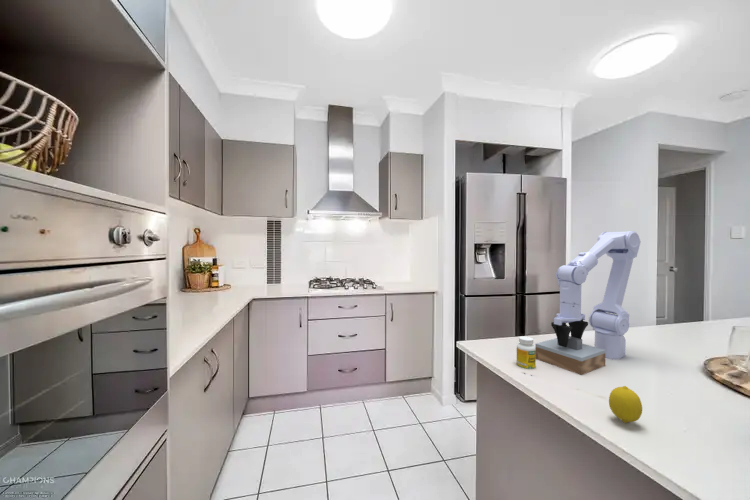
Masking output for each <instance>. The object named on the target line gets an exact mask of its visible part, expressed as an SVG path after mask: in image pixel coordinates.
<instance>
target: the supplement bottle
mask: <svg viewBox="0 0 750 500" xmlns="http://www.w3.org/2000/svg"><path fill="white" fill-rule="evenodd" d="M518 341H519V342H518V343H516V365H517V366H518V367H519V368H522V369H527V370H533V369H534V370H535V369H536V360H537V359H536V348H535V345H534V338H533V337H529V336H525V335H524V336H523V335H522V336H519V337H518Z"/></svg>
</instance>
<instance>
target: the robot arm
mask: <svg viewBox="0 0 750 500" xmlns="http://www.w3.org/2000/svg"><path fill="white" fill-rule="evenodd" d="M640 246H641V239H640V236H639V234H638V233H637V231H635V230H630V231H603V232H601V233H600V234H599V235H598V236H597V242H595V244H593V246H592V247H591V248H590V249H589V250H588V251H584V252H583V251H582V252H581V251H580V252H578V255H576V257H575V258H573V259H572V260H570V261H569V263H568V264H564V265H561V266H559V268H557V271H556V273H555V278H556V280H557V283H558V284H557V285H558V287H559V313H555V316H556V317H554V318H553V322H552V321H551V325H550V326H551V327H552V329H553V331H554V333H555V335H556V338H557V340H558V344H559V346H563V347H567V345H568V338H569V336H571V337H575V338H579V339H582V338H583V334H584V332H585V330H586V329H587V327H588V326H589V325H590V327H591V328H592V330H593V331H594V347H597V348H600V349H604V350H606V353H605V359H608V360H621V359H622V357H625V356H626V343H627V342H626V338H625V336H624V335H625V334H626V333H627V332H628V331H629V328H630V313H628V311H627V310H626V309H625V308H624V307H622V306H623V302H624V297H625V293H626V289H627V286H628V282H629V279H630V275H631V270H632V265H633V262H634V259H635V258H637V257H638V253H639V249H640ZM604 255H606V256H607V257H609V258H611V259H612V264H611V268H610V272H609V275H608V280H607V283H606V287H605V291H604V295H603V299H602V302H600V303H598V304H596V305H594V306H593V307H592V311H591V312H590V313H589V315H588V321H586V314H585V313H582V284H584V283H585V282H586V280H587V277H588V275H589V272H590V271H592V270H593V269H594V268H595V267H596V266H598V263H599V260H598V259H600V258H601V257H603V256H604ZM567 324H568V325H567Z"/></svg>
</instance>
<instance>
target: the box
mask: <svg viewBox="0 0 750 500" xmlns="http://www.w3.org/2000/svg"><path fill="white" fill-rule="evenodd" d="M535 348H536V360H539V361H540V362H543V363H547V364H549V365H552V366H555V367H558V368H561V369H563V370H567V371H569V372H571V373H575V374H577V375H580V376H583V375H585V374H587V373H590V372H594V371H596V370H598V369H601V368H603V367H606V358H605V353H604V354H601V355H598V356H596V357H593V358H590V359H587V360H584V361H579V360H576V359H573V358H570V357H566V356H563V355H560V354H557V353H554V352H551V351H548V350H545V349H542V348H538V347H535Z"/></svg>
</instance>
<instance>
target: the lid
mask: <svg viewBox="0 0 750 500" xmlns="http://www.w3.org/2000/svg"><path fill="white" fill-rule="evenodd" d="M534 346H535V347H538V348H542V349H545V350H548V351H551V352H554V353H557V354H560V355H563V356H566V357H570V358H573V359H576V360H579V361H584V360H587V359H590V358H593V357H596V356H598V355H601V354H604V353H606V350H604V349H600V348H597V347H595V346H593V345H589V344H586V343H583V339H582V338H581V339H579V338H575V337H571V335H569V338H568V345H567V347H563V346H559V344H558V340H557V337H556V338H553V339H547V340H545V341H541V342H536V343H535V345H534Z"/></svg>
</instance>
